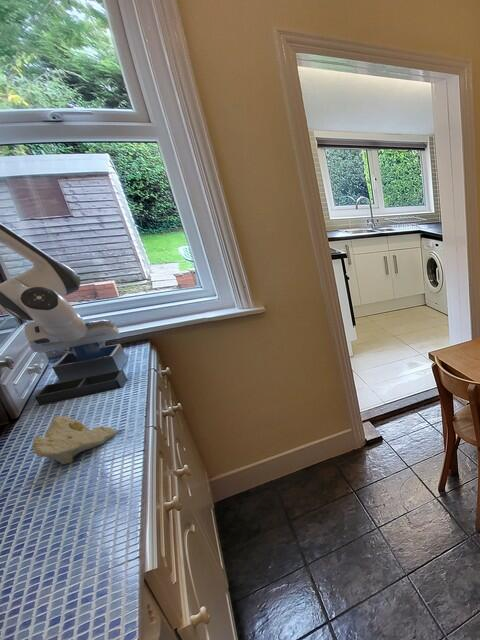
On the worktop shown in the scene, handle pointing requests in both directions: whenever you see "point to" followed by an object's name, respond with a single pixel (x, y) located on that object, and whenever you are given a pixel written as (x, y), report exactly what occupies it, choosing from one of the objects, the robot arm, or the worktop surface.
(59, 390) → the divided tray
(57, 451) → the cheese
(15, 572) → the worktop surface
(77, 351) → the cup
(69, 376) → the sink
